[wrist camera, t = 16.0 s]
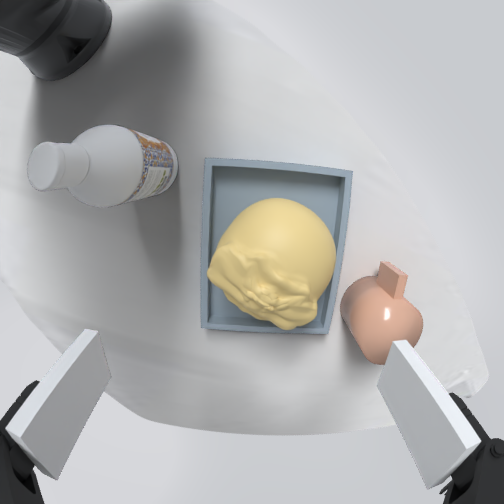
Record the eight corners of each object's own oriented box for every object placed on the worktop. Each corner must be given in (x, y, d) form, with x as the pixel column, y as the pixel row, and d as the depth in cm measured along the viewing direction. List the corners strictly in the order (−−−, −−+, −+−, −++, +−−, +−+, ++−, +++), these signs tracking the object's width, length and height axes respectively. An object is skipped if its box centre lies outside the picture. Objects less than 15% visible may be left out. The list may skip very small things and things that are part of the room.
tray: (209, 159, 31) (204, 157, 28) (344, 171, 31) (352, 171, 28) (204, 316, 36) (201, 328, 33) (323, 322, 37) (328, 333, 34)
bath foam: (187, 147, 30) (103, 115, 11) (169, 202, 32) (72, 241, 13) (136, 133, 30) (24, 103, 11) (120, 186, 32) (2, 208, 12)
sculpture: (203, 258, 33) (182, 296, 23) (264, 175, 30) (271, 175, 20) (278, 310, 35) (288, 362, 25) (340, 236, 32) (377, 263, 22)
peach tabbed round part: (335, 328, 37) (354, 367, 28) (349, 254, 34) (378, 279, 25) (384, 327, 37) (410, 361, 28) (401, 257, 34) (437, 280, 26)
